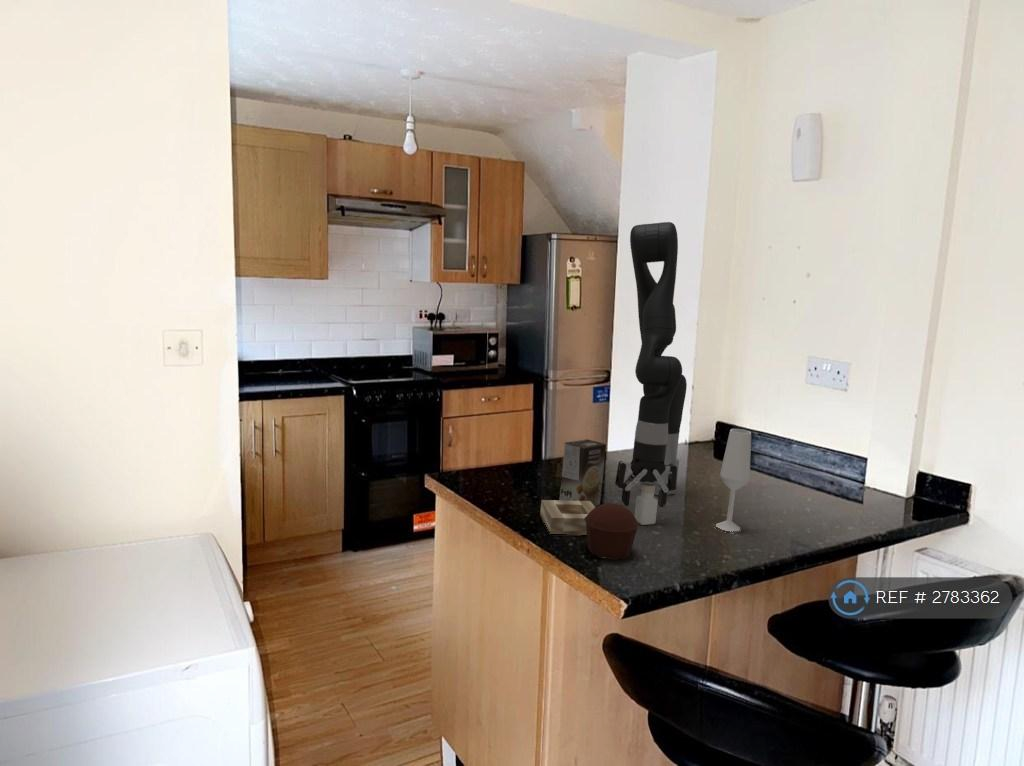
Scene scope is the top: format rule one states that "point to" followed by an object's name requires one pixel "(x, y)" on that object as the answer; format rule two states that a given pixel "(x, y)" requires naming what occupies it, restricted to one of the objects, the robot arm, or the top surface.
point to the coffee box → (582, 471)
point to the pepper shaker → (646, 505)
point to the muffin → (611, 530)
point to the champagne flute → (735, 470)
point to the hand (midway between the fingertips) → (643, 505)
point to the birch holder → (565, 516)
